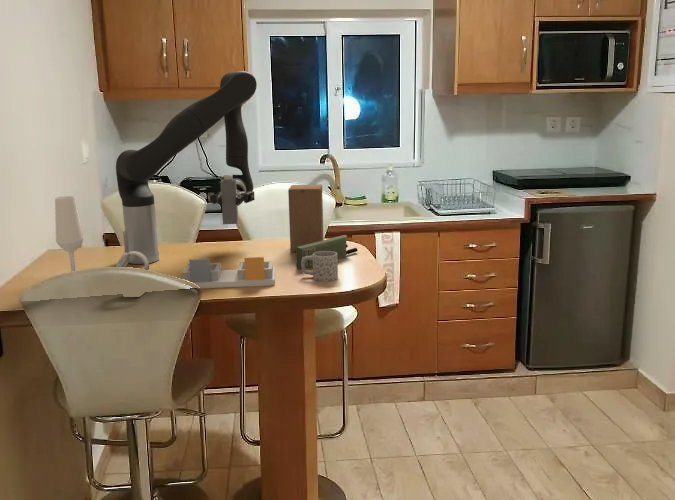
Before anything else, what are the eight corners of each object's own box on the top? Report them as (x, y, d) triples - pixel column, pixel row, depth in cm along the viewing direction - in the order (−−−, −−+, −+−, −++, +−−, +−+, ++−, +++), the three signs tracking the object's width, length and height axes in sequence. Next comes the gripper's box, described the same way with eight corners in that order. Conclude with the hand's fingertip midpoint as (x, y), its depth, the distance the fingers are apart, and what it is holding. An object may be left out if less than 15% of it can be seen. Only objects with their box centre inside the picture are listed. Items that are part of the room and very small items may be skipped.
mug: (340, 275, 184) (339, 251, 183) (334, 281, 178) (334, 257, 176) (305, 273, 186) (304, 250, 185) (298, 280, 180) (297, 255, 179)
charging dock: (181, 289, 174) (178, 260, 172) (187, 276, 185) (185, 250, 184) (274, 285, 175) (273, 257, 174) (275, 273, 187) (274, 246, 185)
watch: (123, 291, 173) (119, 249, 170) (154, 291, 172) (150, 249, 170) (115, 297, 168) (110, 254, 165) (146, 297, 167) (142, 254, 164)
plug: (222, 224, 189) (220, 176, 186) (224, 221, 193) (221, 174, 190) (237, 223, 189) (234, 175, 186) (238, 221, 193) (235, 174, 190)
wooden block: (322, 252, 211) (320, 188, 206) (290, 252, 211) (288, 189, 207) (323, 245, 221) (322, 184, 216) (293, 245, 221) (291, 184, 216)
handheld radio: (294, 269, 192) (351, 252, 210) (302, 271, 190) (360, 254, 208) (294, 246, 191) (352, 231, 209) (302, 248, 188) (360, 233, 206)
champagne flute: (76, 292, 172) (66, 199, 167) (55, 290, 175) (44, 198, 169) (94, 285, 178) (84, 195, 173) (74, 283, 181) (64, 195, 175)
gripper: (208, 180, 202) (201, 188, 185) (256, 179, 203) (253, 187, 186) (210, 205, 204) (203, 215, 187) (257, 204, 205) (255, 214, 188)
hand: (228, 201), depth 187 cm, fingers closed on plug, 4 cm apart
